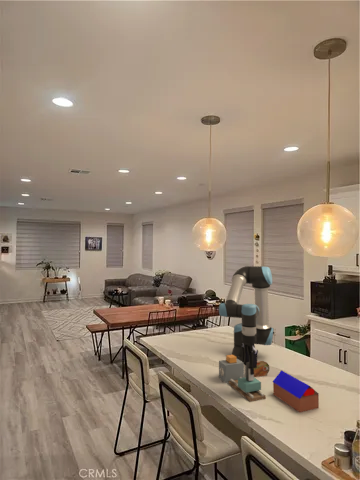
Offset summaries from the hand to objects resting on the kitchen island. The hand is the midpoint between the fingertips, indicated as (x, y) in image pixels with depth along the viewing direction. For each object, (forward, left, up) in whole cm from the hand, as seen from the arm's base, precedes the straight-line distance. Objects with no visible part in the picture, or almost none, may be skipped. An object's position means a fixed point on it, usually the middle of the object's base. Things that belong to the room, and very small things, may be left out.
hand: (249, 378), depth 165 cm
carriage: (0, 0, -5) cm, 5 cm away
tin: (-17, -18, -8) cm, 26 cm away
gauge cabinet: (0, -19, -8) cm, 21 cm away
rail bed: (0, -3, -8) cm, 8 cm away
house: (-17, +15, -8) cm, 24 cm away
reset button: (0, -19, +3) cm, 19 cm away
